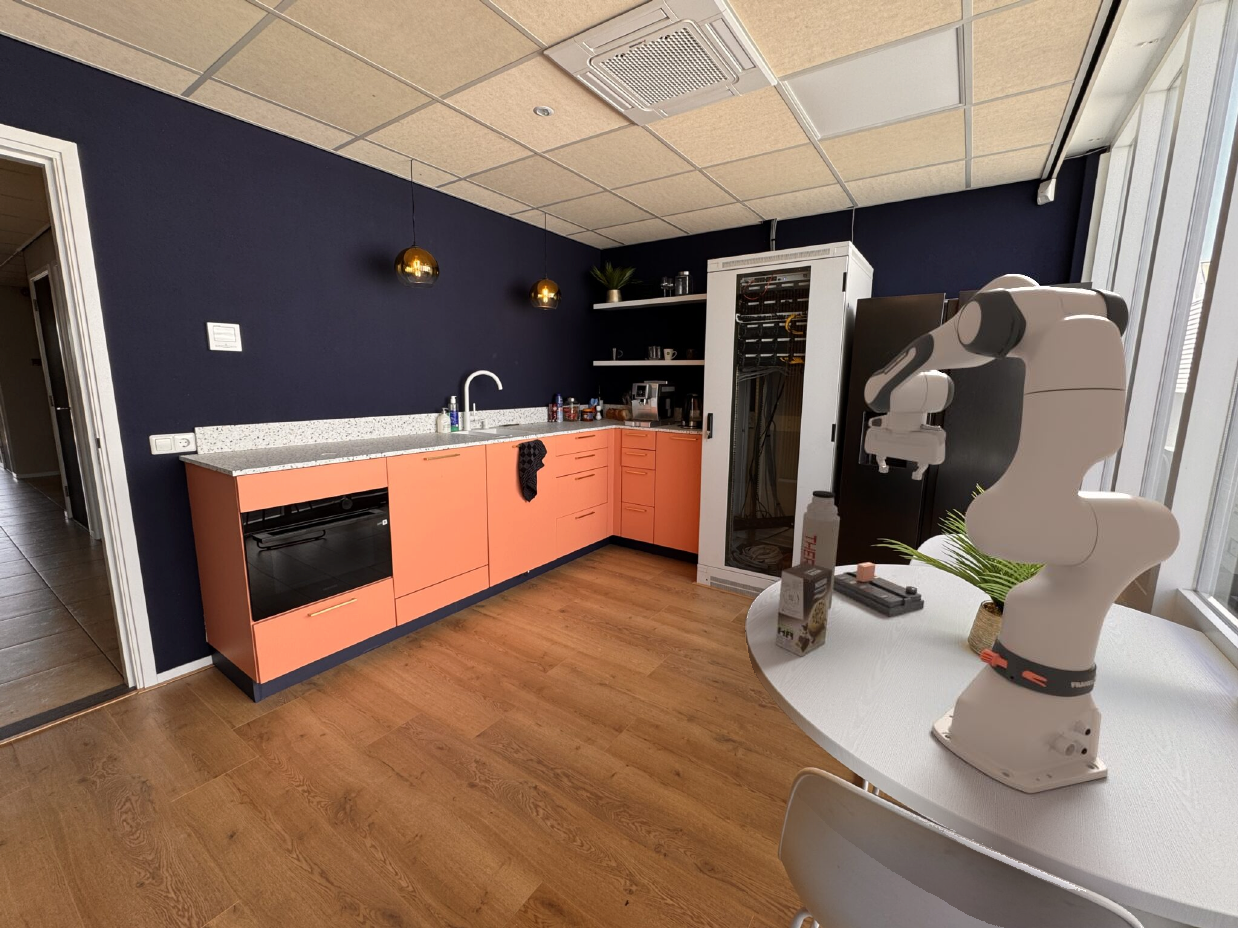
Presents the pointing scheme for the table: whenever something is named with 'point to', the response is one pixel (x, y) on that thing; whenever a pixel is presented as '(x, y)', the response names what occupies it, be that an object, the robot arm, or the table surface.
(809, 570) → the coffee box
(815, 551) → the thermos bottle
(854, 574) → the block
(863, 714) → the table surface
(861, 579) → the fader
